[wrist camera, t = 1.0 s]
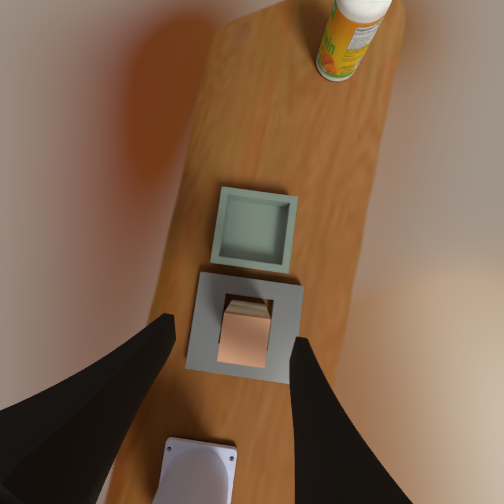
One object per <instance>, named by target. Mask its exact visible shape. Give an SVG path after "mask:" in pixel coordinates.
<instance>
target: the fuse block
mask: <svg viewBox="0 0 504 504" xmlns="http://www.w3.org/2000/svg"><path fill="white" fill-rule="evenodd" d="M270 323H271V318H270V315H269V313H268V310H267V307H266V304H262V303H255V302H247V301H240V300H233V299H232V301H231V303H230V304H229V306H228V307H227V309H226V311H225V312H224V317H223V324H222V331H221V337H220V344H219V351H218V358H217V361H218V362H225V363H232V364H239V365H246V366H253V367H259V368H265V361H266V353H267V346H268V338H269V330H270Z"/></svg>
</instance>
